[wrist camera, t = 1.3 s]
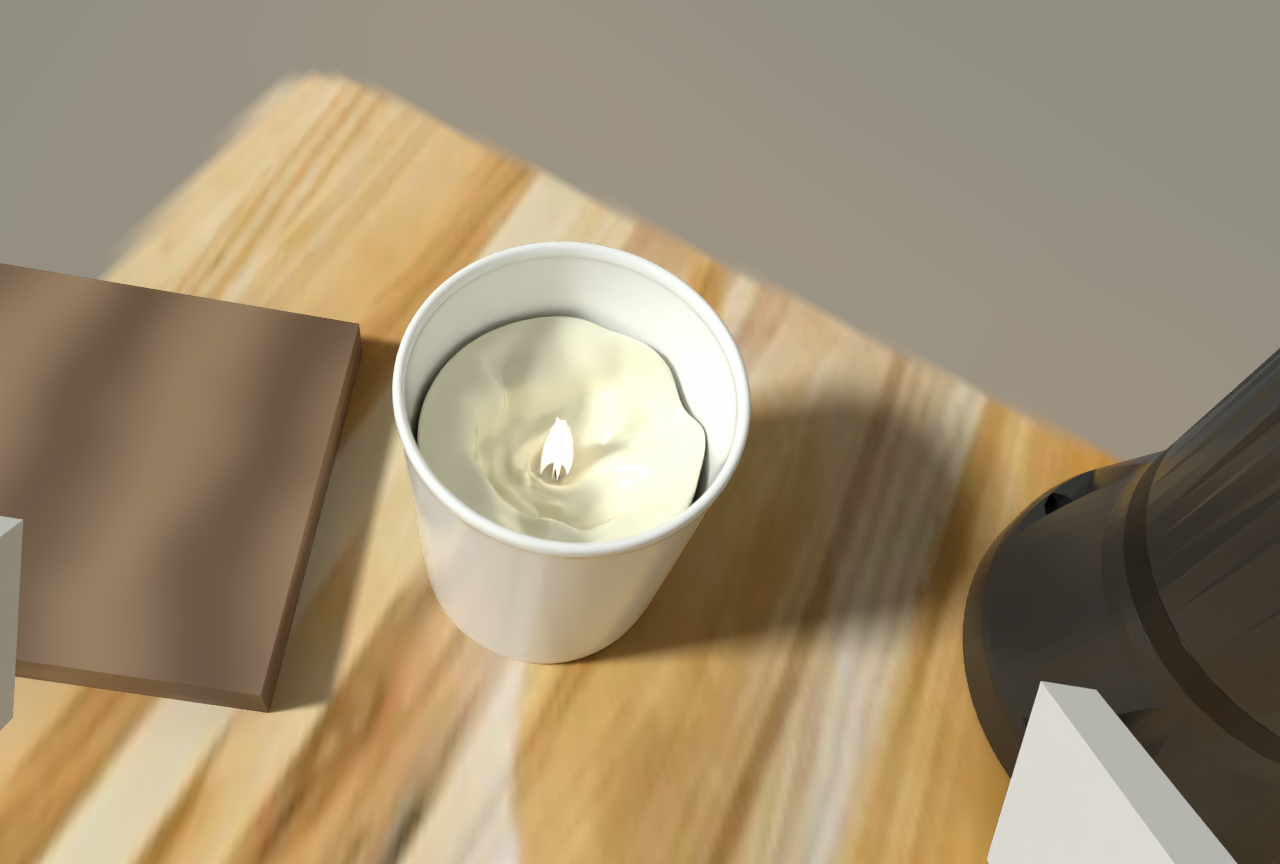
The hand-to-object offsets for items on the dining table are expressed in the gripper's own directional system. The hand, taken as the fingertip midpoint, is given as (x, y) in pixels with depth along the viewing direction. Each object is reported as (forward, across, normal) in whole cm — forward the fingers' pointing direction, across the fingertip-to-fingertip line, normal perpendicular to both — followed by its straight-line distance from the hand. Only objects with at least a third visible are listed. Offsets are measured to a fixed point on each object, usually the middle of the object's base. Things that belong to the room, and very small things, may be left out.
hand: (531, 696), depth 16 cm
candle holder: (+27, 0, -9) cm, 28 cm away
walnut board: (+27, -16, -9) cm, 32 cm away
